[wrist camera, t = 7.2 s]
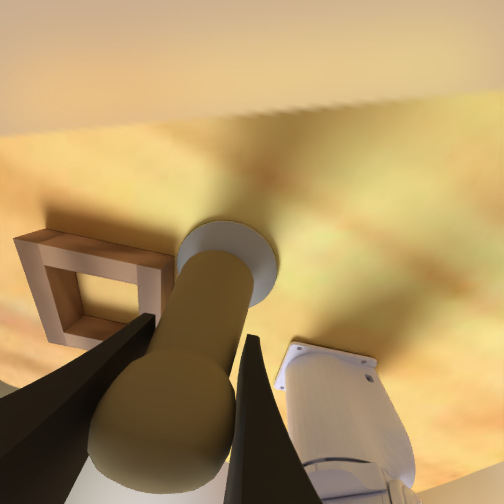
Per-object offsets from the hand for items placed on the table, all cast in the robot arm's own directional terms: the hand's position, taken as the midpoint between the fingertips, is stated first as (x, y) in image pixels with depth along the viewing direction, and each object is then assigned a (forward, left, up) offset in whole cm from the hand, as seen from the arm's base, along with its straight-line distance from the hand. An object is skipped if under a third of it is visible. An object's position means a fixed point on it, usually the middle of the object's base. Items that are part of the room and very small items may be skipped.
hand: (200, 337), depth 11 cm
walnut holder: (+11, +6, -8) cm, 15 cm away
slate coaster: (0, 0, -8) cm, 8 cm away
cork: (0, 0, -6) cm, 6 cm away
